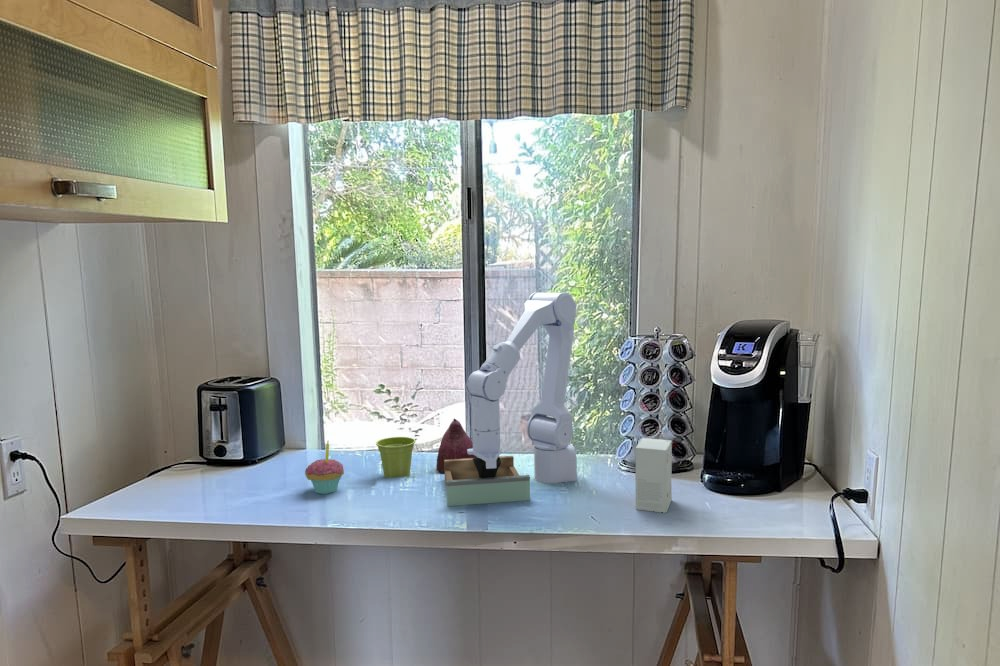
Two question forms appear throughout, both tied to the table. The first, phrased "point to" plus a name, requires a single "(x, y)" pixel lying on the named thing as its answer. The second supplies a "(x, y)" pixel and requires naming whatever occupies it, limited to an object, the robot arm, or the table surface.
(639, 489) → the small box
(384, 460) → the plant pot
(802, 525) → the table surface
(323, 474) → the cupcake
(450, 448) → the vegetable
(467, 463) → the cart bed
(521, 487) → the green board
